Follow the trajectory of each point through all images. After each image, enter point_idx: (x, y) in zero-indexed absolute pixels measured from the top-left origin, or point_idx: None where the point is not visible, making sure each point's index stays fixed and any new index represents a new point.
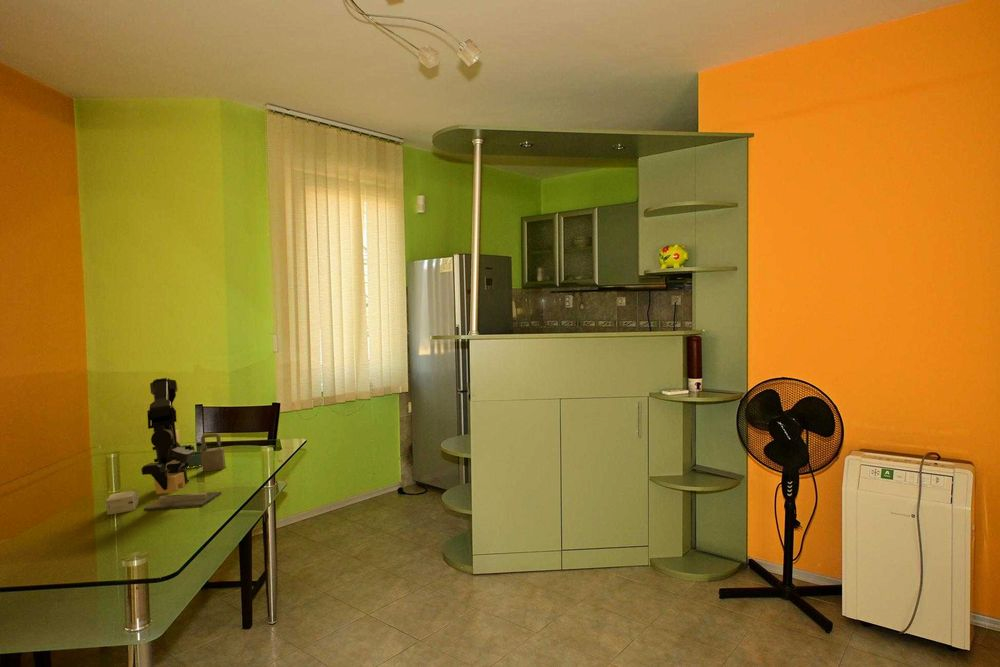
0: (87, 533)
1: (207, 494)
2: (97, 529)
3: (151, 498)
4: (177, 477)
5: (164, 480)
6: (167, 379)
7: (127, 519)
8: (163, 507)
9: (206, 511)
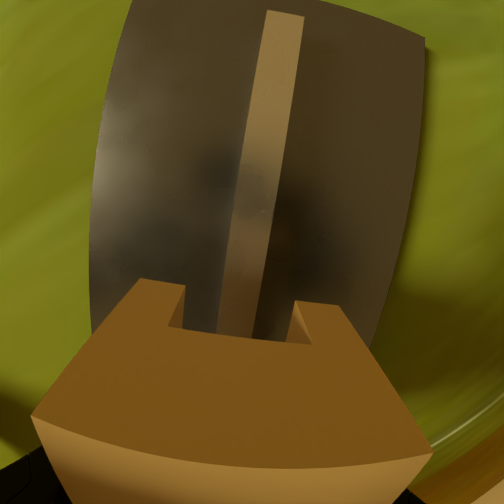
0: (477, 452)
1: (166, 61)
2: (463, 452)
3: None
4: (319, 432)
5: (414, 501)
6: None
7: (426, 426)
8: (373, 334)
9: (490, 25)
